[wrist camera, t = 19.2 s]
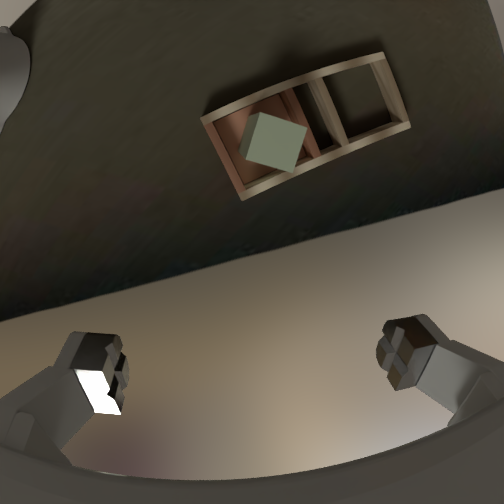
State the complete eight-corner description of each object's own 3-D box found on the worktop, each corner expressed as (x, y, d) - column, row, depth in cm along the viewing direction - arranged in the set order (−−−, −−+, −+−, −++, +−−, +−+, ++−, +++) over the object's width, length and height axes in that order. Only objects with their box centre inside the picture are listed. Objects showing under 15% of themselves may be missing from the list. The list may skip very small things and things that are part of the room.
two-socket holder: (239, 195, 38) (241, 201, 35) (201, 118, 34) (200, 117, 31) (399, 126, 36) (411, 127, 34) (372, 55, 32) (382, 51, 29)
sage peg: (272, 161, 36) (292, 173, 27) (237, 151, 35) (245, 159, 26) (283, 127, 35) (307, 127, 26) (248, 116, 34) (260, 112, 25)
